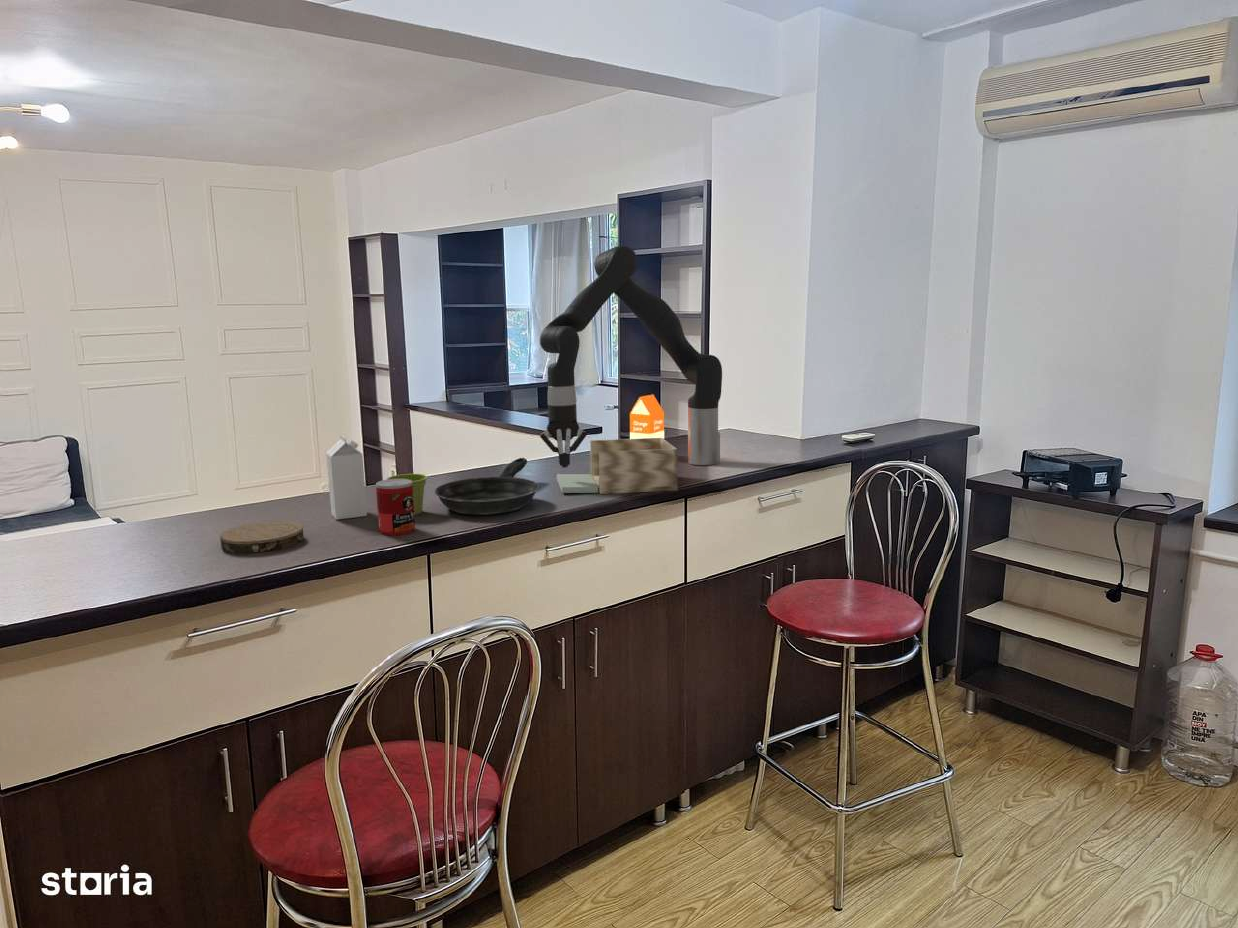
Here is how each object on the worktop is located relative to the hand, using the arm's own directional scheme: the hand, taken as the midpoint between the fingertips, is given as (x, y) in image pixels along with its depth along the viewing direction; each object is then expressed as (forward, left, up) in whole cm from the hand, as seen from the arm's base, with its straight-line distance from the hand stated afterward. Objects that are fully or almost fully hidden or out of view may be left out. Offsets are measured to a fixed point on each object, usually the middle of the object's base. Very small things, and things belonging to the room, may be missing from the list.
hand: (564, 466), depth 219 cm
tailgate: (-8, 0, -4) cm, 9 cm away
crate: (-18, 0, -6) cm, 19 cm away
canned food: (+40, +36, -6) cm, 54 cm away
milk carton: (+53, +19, -6) cm, 57 cm away
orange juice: (-30, -39, -6) cm, 50 cm away
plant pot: (+39, +20, -6) cm, 44 cm away
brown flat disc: (+67, +40, -6) cm, 78 cm away
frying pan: (+18, +11, -6) cm, 22 cm away
